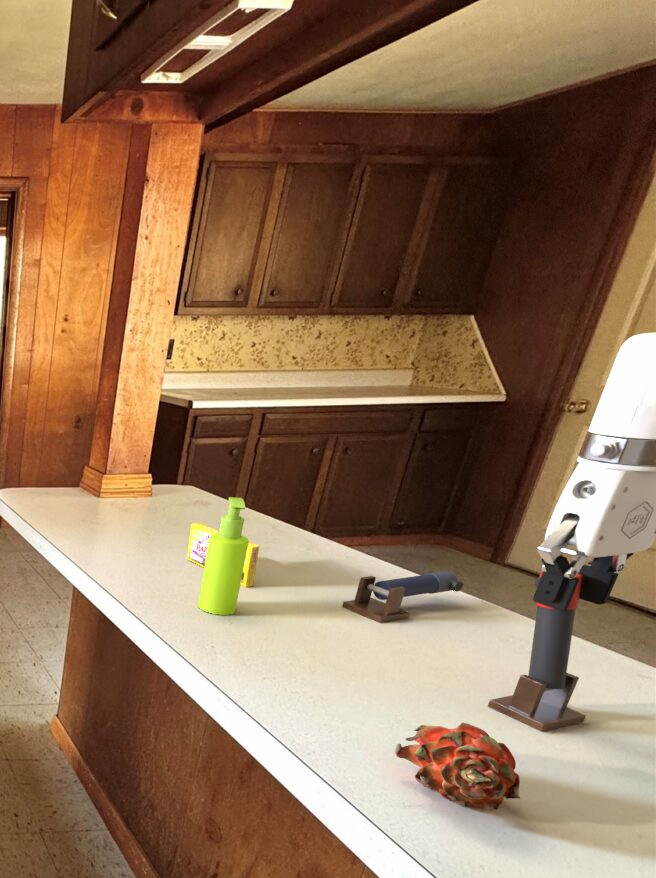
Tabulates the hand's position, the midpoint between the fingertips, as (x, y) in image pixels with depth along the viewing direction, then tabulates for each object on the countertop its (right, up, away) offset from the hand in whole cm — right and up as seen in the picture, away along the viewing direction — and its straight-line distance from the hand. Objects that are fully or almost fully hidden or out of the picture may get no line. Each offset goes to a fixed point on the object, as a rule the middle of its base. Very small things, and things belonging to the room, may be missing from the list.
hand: (568, 601), depth 79 cm
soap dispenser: (-22, -3, +37) cm, 43 cm away
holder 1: (+3, -3, +34) cm, 34 cm away
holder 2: (+1, -14, +5) cm, 15 cm away
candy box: (-13, +4, +54) cm, 55 cm away
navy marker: (+10, 0, +35) cm, 36 cm away
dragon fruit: (-22, -20, -8) cm, 31 cm away
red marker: (0, -4, +4) cm, 5 cm away
